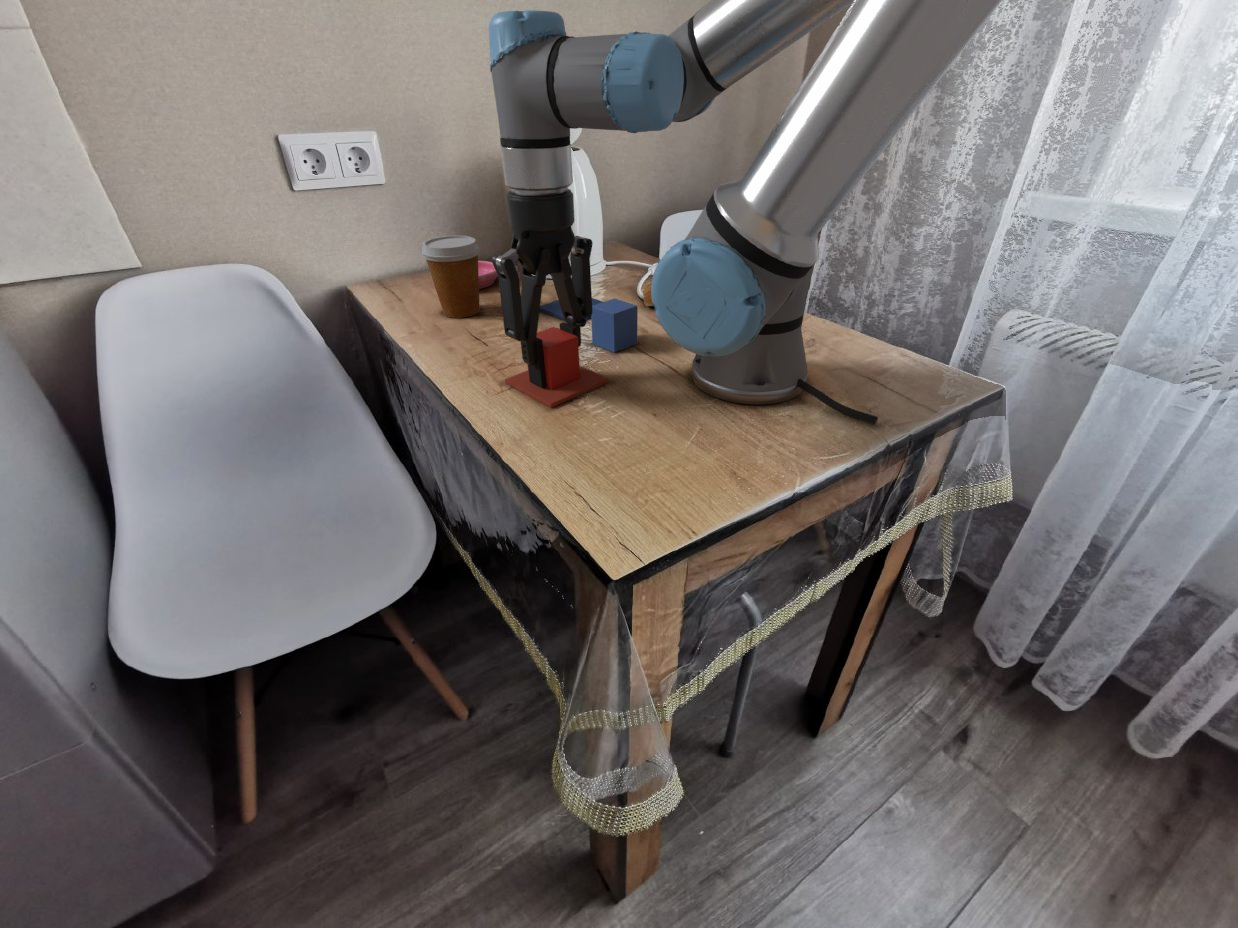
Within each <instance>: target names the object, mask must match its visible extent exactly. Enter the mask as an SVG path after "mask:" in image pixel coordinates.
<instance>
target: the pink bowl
mask: <svg viewBox="0 0 1238 928" xmlns="http://www.w3.org/2000/svg"><path fill="white" fill-rule="evenodd" d="M478 273H479V290H481V289H484V288H487V287H490V286H492V285H494V283H495V281H496V279H497V278H498V274H497V272H496V270H495V268H494V266H493V263H492V261H487V260H478Z"/></svg>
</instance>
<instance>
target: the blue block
mask: <svg viewBox="0 0 1238 928" xmlns="http://www.w3.org/2000/svg"><path fill="white" fill-rule="evenodd" d="M638 311H639V310H638V305H636V304H633V303H630V302H627V301H624V300H621V299H619V298H611V299H608V300H605V301H603V302H602V303H599V304H596V305H593V306H592V315H591V318H590V320H591V342H592V344H593V345H594V346H597V347H600V348H602V349H605V350H607V351H610V352H612V353H617V352H620V351H622V350H625V349H627V348H629V347H632V346H634V345H637V344H638V313H639V312H638Z"/></svg>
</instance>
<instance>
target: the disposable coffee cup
mask: <svg viewBox="0 0 1238 928" xmlns="http://www.w3.org/2000/svg"><path fill="white" fill-rule="evenodd" d="M480 250H481V248H480V246H479V245H478V243H477V240H476V238H474V237H473V236H468V235H445V236H444V235H443V236H436V237H432V238H429V239H426V240H424V241H423V242H422V249H421V255H422V256H423V258H424V259H425V261H426V264H427V267H428V270H429V273H430V276H431V279H432V282H433V285H434V289H435V291H436V294H437V297H438V300H439V303H440V306H441V309H442V312H443V315H444V316H445V317H448V318H451V319H452V318H453V319H460V318H461V319H462V318H469V317H472V316H474V315H477V314H478V313H480V311H481V310H480V309H481V308H480V307H481V306H480V289H479V273H478V261H479V254H480Z"/></svg>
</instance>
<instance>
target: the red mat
mask: <svg viewBox="0 0 1238 928" xmlns="http://www.w3.org/2000/svg"><path fill="white" fill-rule="evenodd" d="M579 366H580V378H579V379H577V380H574V381H572V382H570V383H567V384H565V385H563V386H560V387H558V388H556V389H553V390H551V389H549V388H547V387H544V388H541V387H539V386H537V385H535V384H533V383H531V382H530V379H529V374H528V370H525V371H523V372H521V373H517V374H514V375H513V376H510V377H507V378H505V379H504V383H505V384H506V385H508V386H510V387H511V388H513V389H515V390H517V391H519V392H521V393H523V394H525V395H526V396H528V397H530V398H532V399H534V400H535V401H537V402H538V403H541V404H543V405H545V406H547V408H550V409H552V408H555V407H557V406H559V405H561V404H564V403H566V402H568V401H570V400H572V399H575V398H577V397H579V396H581V395H583V394H586V393H588V392H590V391H592V390H595V389H597V388H599V387H601V386H604V385H605V384H608V383H609V378H608V377H605V376H603V375H602V374H599V373H596V372H594V371H592V370H590V369H587V368H586V367H584V366H581V365H579Z"/></svg>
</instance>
